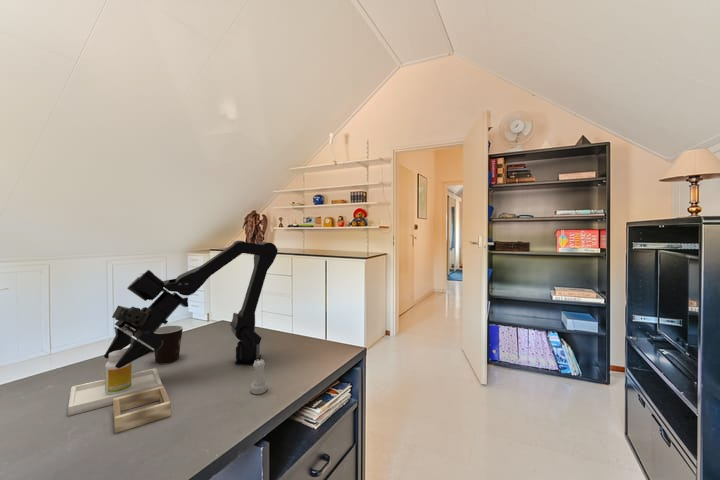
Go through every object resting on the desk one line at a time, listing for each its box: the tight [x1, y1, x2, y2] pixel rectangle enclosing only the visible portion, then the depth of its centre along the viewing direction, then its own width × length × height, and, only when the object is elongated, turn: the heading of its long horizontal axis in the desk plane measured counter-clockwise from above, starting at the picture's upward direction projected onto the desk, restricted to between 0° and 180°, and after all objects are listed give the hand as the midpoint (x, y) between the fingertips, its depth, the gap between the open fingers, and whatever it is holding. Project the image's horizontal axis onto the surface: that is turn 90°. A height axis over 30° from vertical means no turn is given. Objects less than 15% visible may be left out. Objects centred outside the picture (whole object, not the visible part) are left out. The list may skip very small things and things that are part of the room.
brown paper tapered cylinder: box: [153, 324, 184, 365], centre depth 103 cm, size 12×9×10 cm
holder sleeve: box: [112, 385, 172, 434], centre depth 72 cm, size 10×10×3 cm
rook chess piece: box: [249, 358, 268, 395], centre depth 84 cm, size 4×4×8 cm
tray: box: [67, 367, 163, 417], centre depth 81 cm, size 18×12×2 cm, turn 130°
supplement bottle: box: [104, 349, 132, 394], centre depth 81 cm, size 5×5×10 cm
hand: (110, 362), depth 80 cm, fingers open, 9 cm apart
